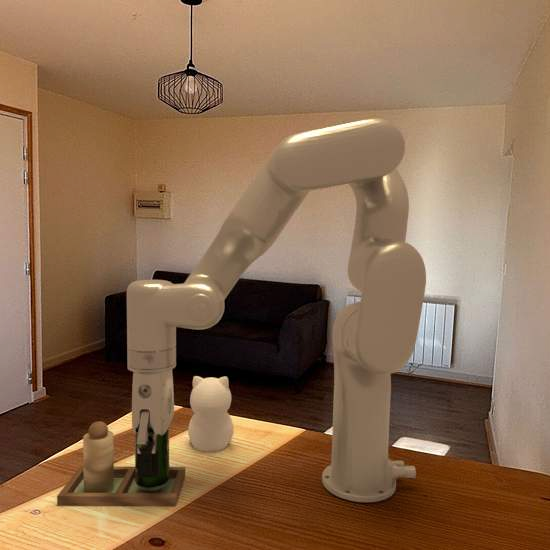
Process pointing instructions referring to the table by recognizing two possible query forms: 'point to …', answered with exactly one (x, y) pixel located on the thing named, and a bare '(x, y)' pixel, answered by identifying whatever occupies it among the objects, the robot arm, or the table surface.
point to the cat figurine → (210, 414)
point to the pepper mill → (98, 459)
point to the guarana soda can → (163, 476)
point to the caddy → (122, 490)
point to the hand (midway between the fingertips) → (152, 465)
